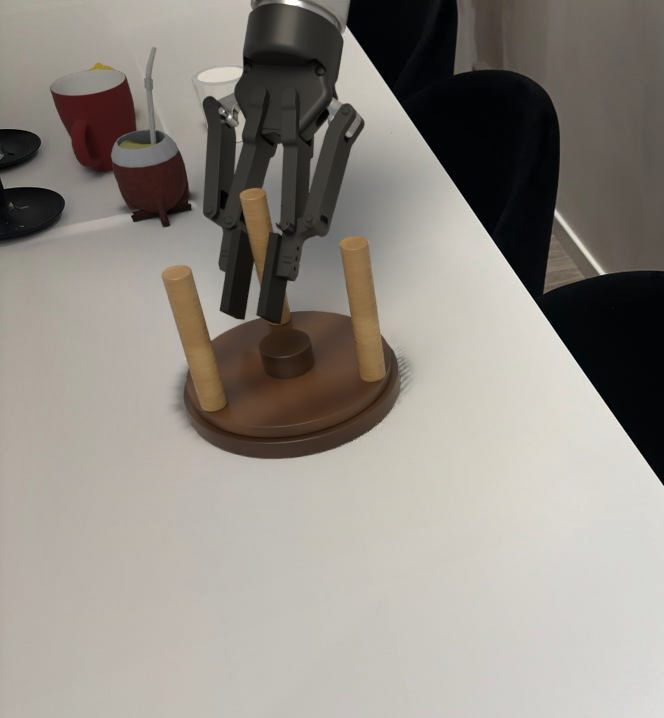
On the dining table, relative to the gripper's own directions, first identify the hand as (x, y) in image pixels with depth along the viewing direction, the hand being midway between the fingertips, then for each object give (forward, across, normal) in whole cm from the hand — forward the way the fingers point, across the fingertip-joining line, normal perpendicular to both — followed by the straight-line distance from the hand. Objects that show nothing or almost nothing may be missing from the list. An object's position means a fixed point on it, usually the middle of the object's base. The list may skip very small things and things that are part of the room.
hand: (250, 317), depth 76 cm
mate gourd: (-14, +24, -21) cm, 35 cm away
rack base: (+5, -4, -2) cm, 7 cm away
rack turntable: (+4, -4, -1) cm, 6 cm away
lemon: (-27, +42, -34) cm, 61 cm away
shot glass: (-28, +26, -36) cm, 53 cm away
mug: (-19, +34, -26) cm, 47 cm away
